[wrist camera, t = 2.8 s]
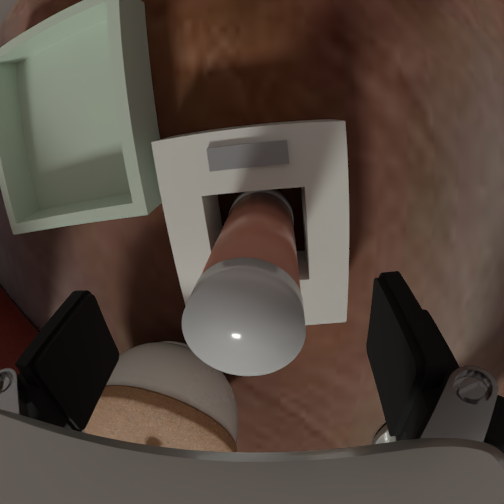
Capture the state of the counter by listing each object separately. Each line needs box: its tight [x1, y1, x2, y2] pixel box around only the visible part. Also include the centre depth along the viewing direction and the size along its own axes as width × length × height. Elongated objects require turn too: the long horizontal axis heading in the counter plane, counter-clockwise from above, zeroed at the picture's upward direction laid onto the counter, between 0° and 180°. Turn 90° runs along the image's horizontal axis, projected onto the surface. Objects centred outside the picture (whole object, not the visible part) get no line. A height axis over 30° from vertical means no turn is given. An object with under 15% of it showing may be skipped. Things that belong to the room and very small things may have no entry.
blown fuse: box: [182, 189, 306, 376], centre depth 16 cm, size 4×4×12 cm
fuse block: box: [151, 119, 349, 325], centre depth 19 cm, size 10×12×4 cm
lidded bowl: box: [84, 341, 238, 452], centre depth 23 cm, size 13×13×11 cm
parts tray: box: [0, 0, 162, 235], centre depth 17 cm, size 12×14×4 cm
